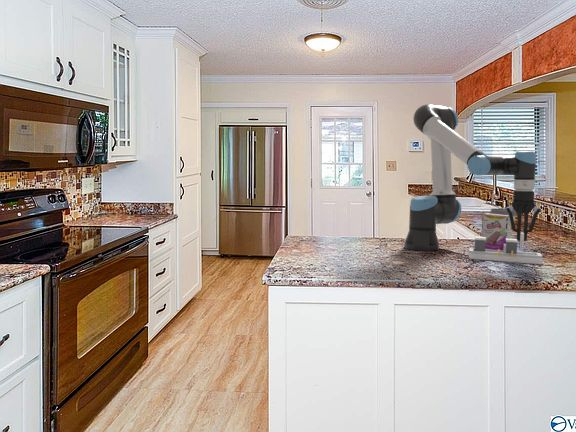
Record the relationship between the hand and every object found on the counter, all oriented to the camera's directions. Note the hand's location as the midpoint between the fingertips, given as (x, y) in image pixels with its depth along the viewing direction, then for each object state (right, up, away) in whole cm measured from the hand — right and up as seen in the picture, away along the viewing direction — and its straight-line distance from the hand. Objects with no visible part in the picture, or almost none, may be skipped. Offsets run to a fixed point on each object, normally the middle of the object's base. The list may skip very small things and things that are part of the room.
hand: (521, 249), depth 203 cm
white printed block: (+18, +1, +61) cm, 64 cm away
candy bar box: (-2, -3, +21) cm, 21 cm away
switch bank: (-6, -4, +2) cm, 8 cm away
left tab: (-15, -2, +5) cm, 16 cm away
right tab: (-4, -2, +1) cm, 5 cm away
